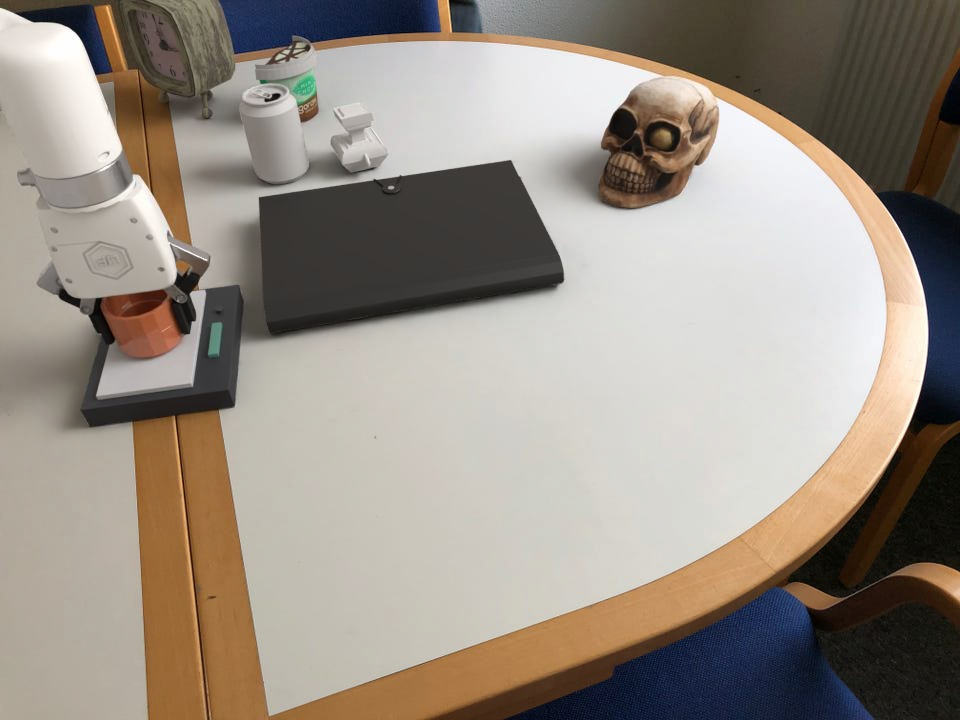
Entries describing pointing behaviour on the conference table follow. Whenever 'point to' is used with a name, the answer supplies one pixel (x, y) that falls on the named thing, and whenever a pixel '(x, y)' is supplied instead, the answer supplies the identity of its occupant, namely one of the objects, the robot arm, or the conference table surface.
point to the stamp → (357, 139)
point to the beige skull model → (657, 141)
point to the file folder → (401, 245)
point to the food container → (294, 75)
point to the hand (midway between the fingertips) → (150, 329)
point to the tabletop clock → (180, 45)
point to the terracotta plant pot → (142, 323)
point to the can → (274, 133)
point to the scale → (172, 368)
